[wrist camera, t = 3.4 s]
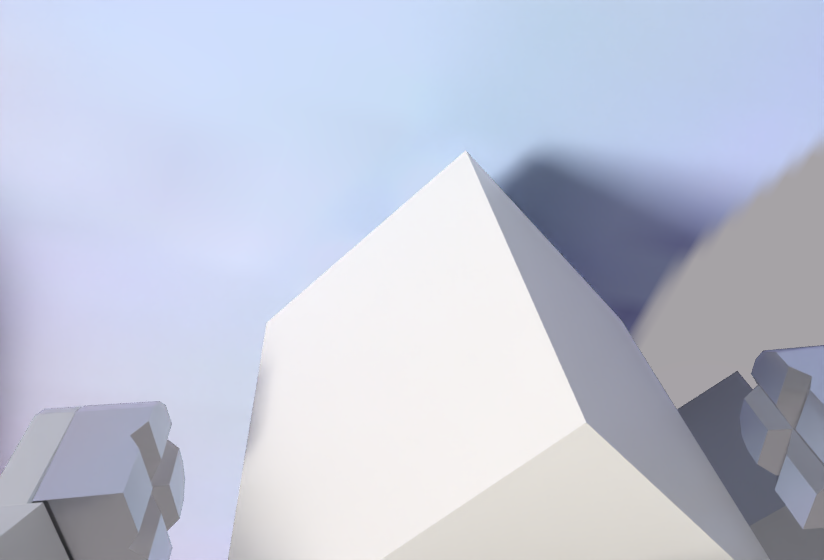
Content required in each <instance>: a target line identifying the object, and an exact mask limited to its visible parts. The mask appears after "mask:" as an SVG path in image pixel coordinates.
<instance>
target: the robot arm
mask: <svg viewBox="0 0 824 560" xmlns="http://www.w3.org/2000/svg"><path fill="white" fill-rule="evenodd" d="M751 374H752V376H753V377H754V379H755V381H756V382H757V384H758V386H757V387H756V388H755V389H753V390H752V391H751V392H750V393H749V394H748V395H747V396H746V397H745V398H744V400H743V405H742V409H741V413H740V425H741V433H742V437H743V440H744V442H745V445H746V447H747V450H748V451H749V453H750V454H751V456H752V457H753V459H754V460H755V462H756V463H757V465H759V466H761V467H763V468H764V469H766V470H768V471H769V472H771V473H773V474H775V475H776V476H777V477H776V484H775V491H776V492H777V493H778V495H779V496H780V498H781V499H782V501H783V502H784V503H785V505H786V506H787V508H788V509H789V510H790V512H791V513H792V515H793V516H794V517H795V519H796V520H797V522H798V523H799V525H800V526H801V527H802V529H814V528H824V345H821V346H809V347H800V348H787V349H776V350H765V351H762V353H761V354H760V355H759V356H758V357H757V358H756V360H755V363H754V366H753V369H752V373H751ZM171 425H172V422H171V419H170V416H169V413H168V410H167V407H166V405H165V404H163V403H162V402H160V401H153V402H137V403H120V404H104V405H88V406H83V407H66V408H51V409H44V410H42V411H41V412H39V413H38V414H36V415H35V416H34V418H33V419H32V421H31V423H30V425H29V426H28V428H27V430H26V432H25V433H24V435H23V437H22V439H21V440H20V442H19V444H18V446H17V448H16V449H15V451H14V453H13V455H12V456H11V458H10V460H9V462H8V463H7V465H6V467H5V469H4V470H3V472H2V474H1V476H0V560H169V559H170V555H171V551H172V545H171V542H170V539H169V536H168V532H167V531H168V530H169V529H170V528H171V527H172V526H173V525H174V524H175V523H176V522H177V521H178V520H179V519H180V515H181V510H182V506H183V501H184V487H185V475H184V466H183V460H182V457H181V453H180V449H179V448H178V447H177V446H176V445H174V444H173V443H171V442H170V441H169V440H167V439H168V435H169V432H170V429H171Z"/></svg>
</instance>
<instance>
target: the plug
mask: <svg viewBox="0 0 824 560" xmlns="http://www.w3.org/2000/svg"><path fill="white" fill-rule="evenodd" d="M228 560H770V559H769V557H768V556H767V554H766V552H765V551H764V549H763V548H762V546H761V544H760V543H759V541H758V539H757V538H756V536H755V535H754V533H753V531H752V530H751V528H750V527H749V525H748V523H747V522H746V520H745V519H744V517H743V515H742V514H741V512H740V510H739V509H738V507H737V506H736V504H735V502H734V501H733V499H732V498H731V496H730V494H729V493H728V491H727V490H726V488H725V486H724V485H723V483H722V481H721V480H720V478H719V477H718V475H717V473H716V472H715V470H714V469H713V467H712V465H711V464H710V462H709V461H708V459H707V457H706V456H705V454H704V453H703V451H702V449H701V448H700V446H699V444H698V443H697V441H696V440H695V438H694V436H693V435H692V433H691V432H690V430H689V428H688V427H687V425H686V424H685V422H684V420H683V419H682V417H681V415H680V414H679V412H678V411H677V409H676V408H675V406H674V404H673V403H672V401H671V399H670V398H669V396H668V395H667V393H666V391H665V390H664V388H663V387H662V385H661V383H660V382H659V380H658V378H657V377H656V375H655V374H654V372H653V370H652V369H651V367H650V366H649V364H648V362H647V361H646V359H645V357H644V356H643V354H642V353H641V351H640V349H639V348H638V346H637V345H636V343H635V341H634V340H633V338H632V337H631V335H630V333H629V332H628V330H627V328H626V327H625V325H624V324H623V322H622V320H621V319H620V318H619V317H618V316H617V315H616V314H615V313H614V312H613V311H612V309H611V308H610V307H609V306H608V305H607V304H606V303H605V302H604V301H603V300H602V298H601V297H600V296H599V295H598V294H597V293H596V292H595V291H594V290H593V289H592V288H591V286H590V285H589V284H588V283H587V282H586V281H585V280H584V279H583V278H582V277H581V276H580V274H579V273H578V272H577V271H576V270H575V269H574V268H573V267H572V266H571V265H570V264H569V262H568V261H567V260H566V259H565V258H564V257H563V256H562V255H561V254H560V253H559V252H558V250H557V249H556V248H555V247H554V246H553V245H552V244H551V243H550V242H549V241H548V240H547V238H546V237H545V236H544V235H543V234H542V233H541V232H540V231H539V230H538V229H537V228H536V226H535V225H534V224H533V223H532V222H531V221H530V220H529V219H528V218H527V217H526V216H525V214H524V213H523V212H522V211H521V210H520V209H519V208H518V207H517V206H516V205H515V204H514V202H513V201H512V200H511V199H510V198H509V197H508V196H507V195H506V194H505V193H504V191H503V190H502V189H501V188H500V187H499V186H498V185H497V184H496V183H495V182H494V181H493V179H492V178H491V177H490V176H489V175H488V174H487V173H486V172H485V171H484V170H483V169H482V167H481V166H480V165H479V164H478V163H477V162H476V161H475V160H474V159H473V158H472V157H471V155H470V154H469V153H468V152H467V151H464V152H463V153H462V154H461V155H460V156H459V157H457V158H456V159H455V160H454V161H453V162H452V163H450V164H449V165H448V166H447V167H446V168H445V169H444V170H442V171H441V172H440V173H439V174H438V175H437V176H435V177H434V178H433V179H432V180H431V181H430V182H429V183H427V184H426V185H425V186H424V187H423V188H422V189H420V190H419V191H418V192H417V193H416V194H415V195H414V196H412V197H411V198H410V199H409V200H408V201H407V202H405V203H404V204H403V205H402V206H401V207H400V208H398V209H397V210H396V211H395V212H394V213H393V214H392V215H390V216H389V217H388V218H387V219H386V220H385V221H383V222H382V223H381V224H380V225H379V226H378V227H377V228H375V229H374V230H373V231H372V232H371V233H370V234H368V235H367V236H366V237H365V238H364V239H363V240H362V241H360V242H359V243H358V244H357V245H356V246H355V247H353V248H352V249H351V250H350V251H349V252H348V253H346V254H345V255H344V256H343V257H342V258H341V259H340V260H338V261H337V262H336V263H335V264H334V265H333V266H331V267H330V268H329V269H328V270H327V271H326V272H325V273H323V274H322V275H321V276H320V277H319V278H318V279H316V280H315V281H314V282H313V283H312V284H311V285H309V286H308V287H307V288H306V289H305V290H304V291H303V292H301V293H300V294H299V295H298V296H297V297H296V298H294V299H293V300H292V301H291V302H290V303H289V304H288V305H286V306H285V307H284V308H283V309H282V310H281V311H279V312H278V313H277V314H276V315H275V316H274V317H273V318H271V319H270V320H269V321H268V322H267V324H266V330H265V336H264V342H263V348H262V354H261V360H260V366H259V372H258V379H257V385H256V391H255V397H254V403H253V409H252V415H251V421H250V427H249V434H248V440H247V446H246V452H245V458H244V464H243V470H242V476H241V482H240V489H239V495H238V501H237V507H236V513H235V519H234V525H233V531H232V537H231V543H230V550H229V556H228Z"/></svg>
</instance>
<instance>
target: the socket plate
mask: <svg viewBox="0 0 824 560" xmlns="http://www.w3.org/2000/svg"><path fill="white" fill-rule="evenodd" d="M752 390H753V389H752V388H751V387H750V386H749V384H748V383H747V382H746V381H745V380H744V379H743V377H741V375H740V374H739V372H738V371H736V372H735V373H733V374H732V375H730V376H729V377H727V378H726V379H724V380H722V381H721V382H719V383H718V384H716V385H715V386H713V387H712V388H710V389H708V390H707V391H705V392H704V393H702V394H701V395H699V396H698V397H696V398H695V399H693V400H691V401H690V402H688V403H687V404H685V405H684V406H682V407H681V408H679V409H678V410H677V411H678V412H679V414H680V415H681V417H682V419H683V420H684V422H685V424H686V425H687V427H688V428H689V430H690V432H691V433H692V435H693V436H694V438H695V440H696V441H697V443H698V444H699V446H700V448H701V449H702V451H703V453H704V454H705V456H706V457H707V459H708V461H709V462H710V464H711V465H712V467H713V469H714V470H715V472H716V473H717V475H718V477H719V478H720V480H721V481H722V483H723V485H724V486H725V488H726V490H727V491H728V493H729V494H730V496H731V498H732V499H733V501H734V502H735V504H736V506H737V507H738V509H739V510H740V512H741V514H742V515H743V517H744V519H745V520H746V522H747V523H748V525H749V527H750V528H751V530H752V531H753V533H754V535H755V536H756V538H757V539H758V541H759V543H760V544H761V546H762V548H763V549H764V551H765V552H766V554H767V556H768V557H769V559H770V560H824V528H814V529H802V527H801V526H800V525H799V523H798V522H797V520H796V519H795V517H794V516H793V515H792V513H791V512H790V510H789V509H788V508H787V506H786V505H785V503H784V502H783V501H782V499H781V498H780V496H779V495H778V493H777V492H776V491H775V484H776V477H777V476H776V475H775V474H773V473H771V472H769V471H768V470H766V469H764V468H763V467H761V466H759V465H757V463H756V462H755V460H754V459H753V457H752V456H751V454H750V453H749V451H748V450H747V447H746V445H745V442H744V440H743V437H742V433H741V425H740V413H741V409H742V405H743V400H744V398H745V397H746V396H747V395H748V394H749V393H750V392H751V391H752Z"/></svg>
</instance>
